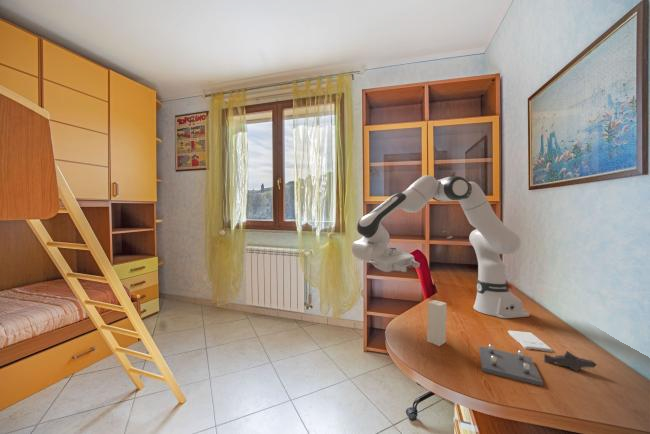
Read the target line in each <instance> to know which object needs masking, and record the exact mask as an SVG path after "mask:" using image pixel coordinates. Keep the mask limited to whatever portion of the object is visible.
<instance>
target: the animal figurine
mask: <svg viewBox="0 0 650 434" xmlns="http://www.w3.org/2000/svg"><path fill="white" fill-rule="evenodd" d="M543 361H544V363H548V364H549V363H551V364H556V365H558V366H563V367H567V368H570V369H571V370H572V371H574V372H575V373H578V371H579V370H580V369H595V367H597V366H598V365H597V363H595V362H594V361H593V360H592V359H587V358H586V359H585V358H583V357H582V358H580V357H579V356H575V355H574V354H573V353H571V352H569V351H568V350H566V352H564V355H562V354H561V355H560V354H559V355H555V356H551V355H548V354H546V353H544V358H543Z"/></svg>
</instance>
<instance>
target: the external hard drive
mask: <svg viewBox="0 0 650 434" xmlns="http://www.w3.org/2000/svg"><path fill="white" fill-rule="evenodd" d="M508 333H509V336H510V337H511V338H513V339H514V340H515V341H516V342H517V343H518V342H519V343H520V344H521V345H522V348H523V349H525V350H530V349H535V350H534V351H540V352H541V351H542V352H549V353H550V352H551V353H552V352H553V349H552V348H551V347H550V346H548V345H547V344H546V343H545V342H544V341H543V340H541V339H540V338H539V337H537V336H536V335H535V334H534V333H532V332H531V331H529V332H528V331H520V330H519V331H518V330H507V334H508ZM519 343H518V344H519ZM520 344H519V345H520Z"/></svg>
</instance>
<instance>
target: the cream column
mask: <svg viewBox="0 0 650 434" xmlns="http://www.w3.org/2000/svg"><path fill="white" fill-rule="evenodd" d="M426 324H427V329H426V330H427V331H426V342H428V343H430V344H433V345H435V346H438V347H441V346H442V345H443V344H445V343H446V334H447V302H443V301H440V300H436V299H433V300H431V301H428V302H427V323H426Z"/></svg>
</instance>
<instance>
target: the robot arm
mask: <svg viewBox="0 0 650 434" xmlns="http://www.w3.org/2000/svg"><path fill="white" fill-rule="evenodd" d="M431 200H434V201H437V202H452V201H457V202H458V203H459V204H460V207H461V208H462V210H463V213H464V215H465V217H466V219H467V221H468V223H469V224H470V225H471V226H472V227H473V228H475V229H473V230H472V231H471V232H470V234H469V237H468V240H469V243H470V245H471V246H472V247H473V249H474V251H475V255H476V260H477V266H478V267H477V271H478V272H477V273H478V274H477V275H478V277H477V279H476V297H475V302H474V305H473V307H472V308H473V309H474V310H475V311H477V312H479V313H480V314H484V315H488V316H492V317H496V318H499V319H514V318H524V317H525V318H526V317H530V313H529V312H528V311H527V310H526V309H524V305H523V302H522V300H521V298H519V297H518V296H516V295H515V294H514V293H512V292H511V291H510V289H511V290H514V289H515V285H514V284H512V283H508V282H506V281H507V279H506V277H507V275H506V274H507V268H506V267H507V266H506V264H505V262H503V261H502V258H501V256H500V255H510V254H515V253H516V252H518V250H520V247H521V238H520V237H519V235H518V234H517V233H516V232H515V231H512V230H511V229H509V227H507V225H505V223H504V222H502V221H501V219H500V218H499V217H498V216H497V214H496V212H495V211H494V209H493V208H492V206H491V203H490V201H489V200H488V198H487V195H486V194H485V193H484V191H483V190H482V188H481V187H480V185H478V183H477V182H475V181H468V180H467V179H465V178H464V177H462V176H458V175H454V176H447V177H443V178H440V179H436V178H435V177H434V176H432V175H429V174H424V175H422V176H420V177H419V178H418V179H416V180H415V181H413V183H412V184H410V185H409V187H408V188H406V189H405V190H403V191H402V192H396V193H395V194H394V193H393V195H391V196H390V197H389V198H387V199H386V200H384V201H383V202H381V203H380V204H379V205H378V206H377V207H375V208H374V209H373V210H372V211H370V212H369V213H366V214H364V215H362V216H361V217H360V219H359V220H358V223H357V225H356V230H357V232H358V234H360V235H361V238H360V239H357V240H355V241H354V242H353V243H352V246H351V252H352V254H353V256H354V257H355V258H356V259H358V260H361V261H363V262H365V263H368V264H369V263H370V264H371V265H372V266H374V267H375V268H376V269H378V270H379V271H382V272H385V273H390V272H392V271H396V272H402V273H406V272H407V270H408V267H409V266H413V267H414V268H419V267H420V264H421V263H420V262H418V261H416V260H415V256H414V255H413V254H411V253H409V252H405V251H402V250H399V249H398V248H397V247H387V245H388V244H389V242H390V240H391V236H390V233H389V232H388V230H387V229H386V228H385V226H384V225H383V224H382V221H383V220H384V219H385V218H387V217H388V216H390V215H391V214H393V212H394V211H396V210H402V211H404V212H406V213H418V212H419V211H421V210H422V209H424V207H425V206H426V205H427V204H428V203H429V202H430V201H431Z"/></svg>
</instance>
